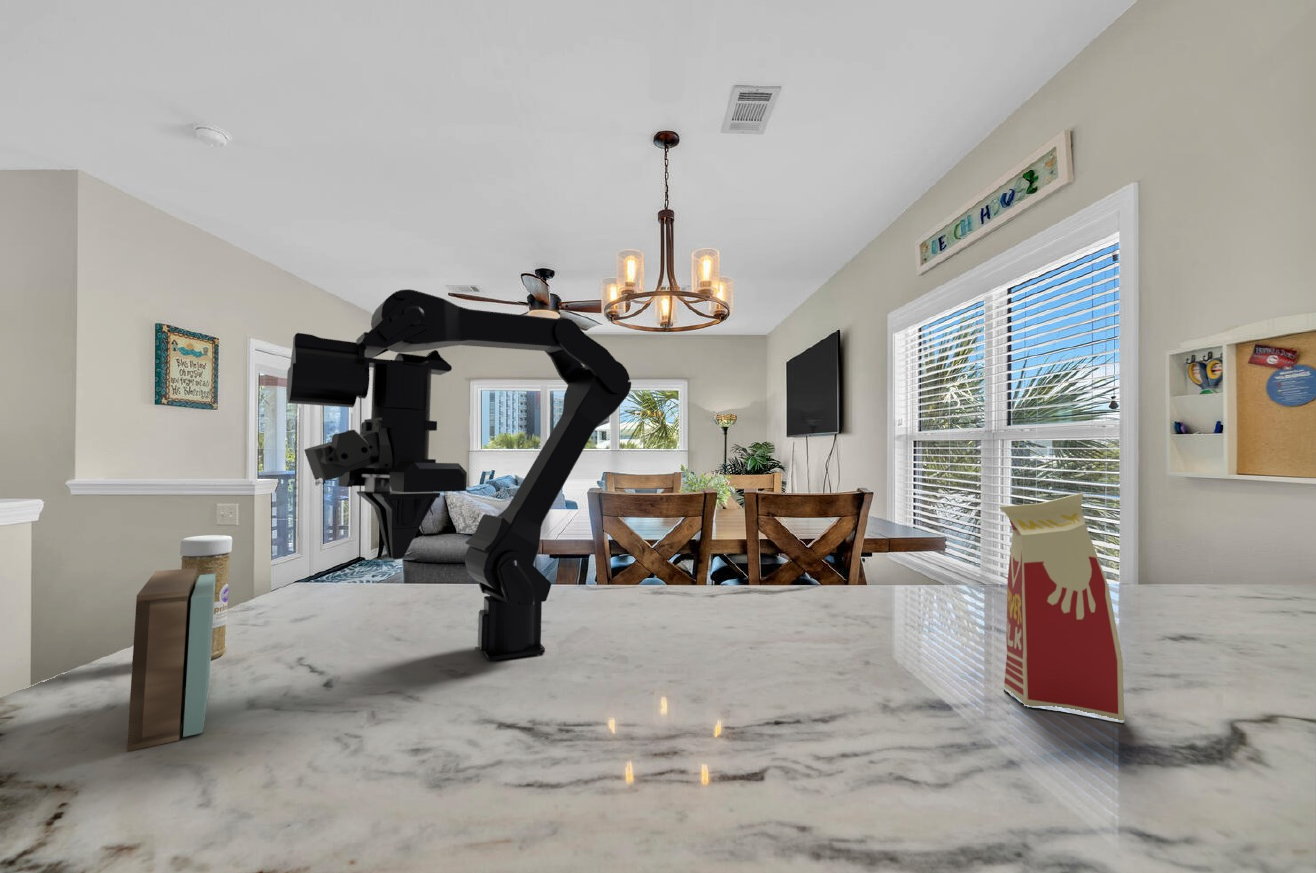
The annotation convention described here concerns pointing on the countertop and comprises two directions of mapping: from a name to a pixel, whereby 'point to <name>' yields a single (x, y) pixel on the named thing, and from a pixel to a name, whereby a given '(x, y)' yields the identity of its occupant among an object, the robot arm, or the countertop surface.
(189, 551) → the sprinkles bottle
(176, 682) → the cabinet
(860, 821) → the countertop surface
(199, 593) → the door
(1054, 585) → the milk carton
